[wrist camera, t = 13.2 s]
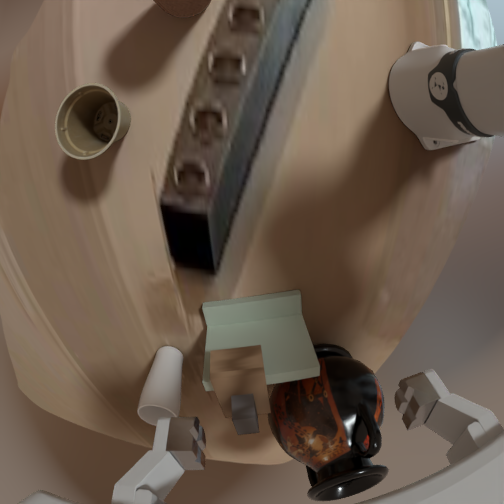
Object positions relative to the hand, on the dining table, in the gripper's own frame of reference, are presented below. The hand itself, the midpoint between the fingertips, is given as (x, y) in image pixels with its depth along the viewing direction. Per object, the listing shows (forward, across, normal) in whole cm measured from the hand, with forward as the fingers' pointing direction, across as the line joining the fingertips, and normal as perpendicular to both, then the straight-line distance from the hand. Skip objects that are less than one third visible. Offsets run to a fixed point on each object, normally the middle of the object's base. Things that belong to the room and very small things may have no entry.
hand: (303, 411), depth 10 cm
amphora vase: (+34, -9, +36) cm, 51 cm away
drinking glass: (+34, +19, +27) cm, 48 cm away
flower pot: (+34, +18, -15) cm, 42 cm away
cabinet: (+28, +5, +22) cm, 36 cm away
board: (+34, +2, +19) cm, 39 cm away
